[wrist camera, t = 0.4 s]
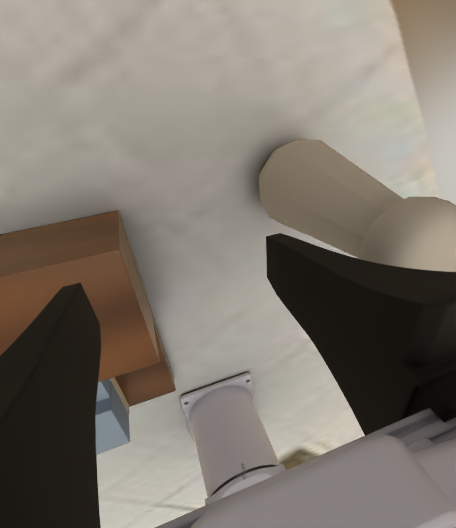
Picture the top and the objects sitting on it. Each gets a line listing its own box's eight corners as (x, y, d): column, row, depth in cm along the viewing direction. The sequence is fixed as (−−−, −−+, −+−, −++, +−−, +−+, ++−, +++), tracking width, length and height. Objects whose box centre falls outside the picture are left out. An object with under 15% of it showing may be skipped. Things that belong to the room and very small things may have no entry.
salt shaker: (232, 191, 21) (348, 302, 11) (277, 116, 19) (470, 157, 9) (288, 223, 24) (422, 334, 14) (332, 160, 22) (524, 231, 12)
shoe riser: (173, 377, 29) (183, 430, 25) (43, 420, 27) (29, 488, 22) (118, 210, 19) (119, 248, 15) (-98, 254, 17) (-174, 317, 12)
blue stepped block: (128, 404, 27) (130, 443, 24) (90, 417, 26) (87, 460, 23) (99, 346, 22) (96, 385, 19) (51, 360, 22) (41, 403, 19)
